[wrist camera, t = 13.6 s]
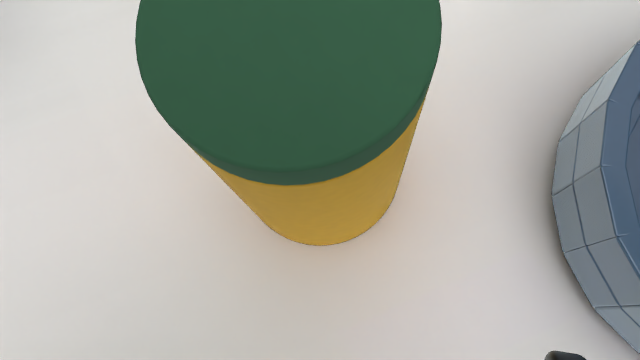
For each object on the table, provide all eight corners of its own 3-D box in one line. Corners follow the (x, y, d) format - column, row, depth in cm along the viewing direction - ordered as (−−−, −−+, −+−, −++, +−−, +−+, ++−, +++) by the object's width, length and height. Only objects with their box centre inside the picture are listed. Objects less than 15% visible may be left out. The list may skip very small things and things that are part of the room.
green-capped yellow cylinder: (409, 237, 21) (465, 152, 10) (248, 253, 21) (137, 187, 10) (389, 85, 22) (419, -130, 11) (238, 102, 22) (130, -93, 12)
